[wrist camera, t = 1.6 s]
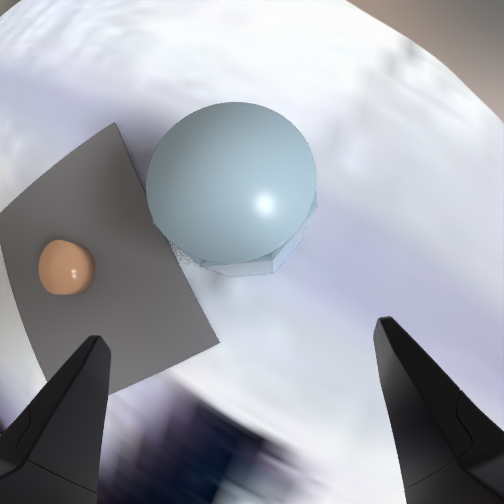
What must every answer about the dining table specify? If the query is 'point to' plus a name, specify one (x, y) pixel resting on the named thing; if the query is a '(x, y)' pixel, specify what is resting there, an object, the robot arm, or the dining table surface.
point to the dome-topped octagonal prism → (233, 188)
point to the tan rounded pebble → (66, 268)
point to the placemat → (102, 267)
